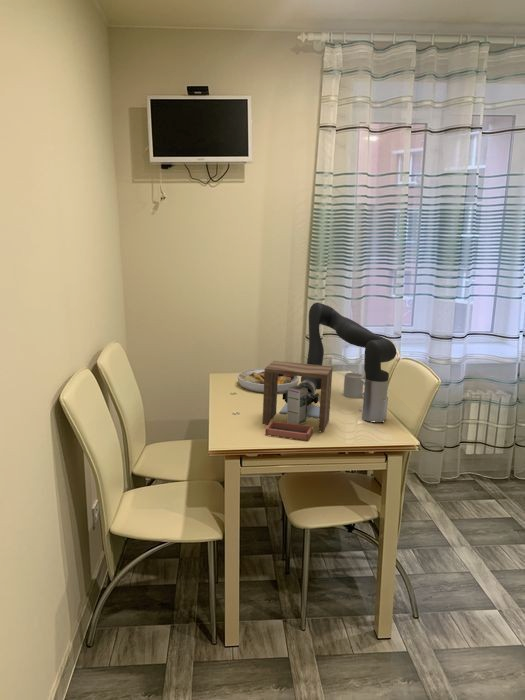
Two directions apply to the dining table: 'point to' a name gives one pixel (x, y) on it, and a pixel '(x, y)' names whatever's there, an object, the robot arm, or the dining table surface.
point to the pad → (311, 411)
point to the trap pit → (289, 430)
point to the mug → (353, 385)
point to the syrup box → (297, 405)
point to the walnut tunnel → (296, 370)
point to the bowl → (256, 380)
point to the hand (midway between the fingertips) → (297, 401)
